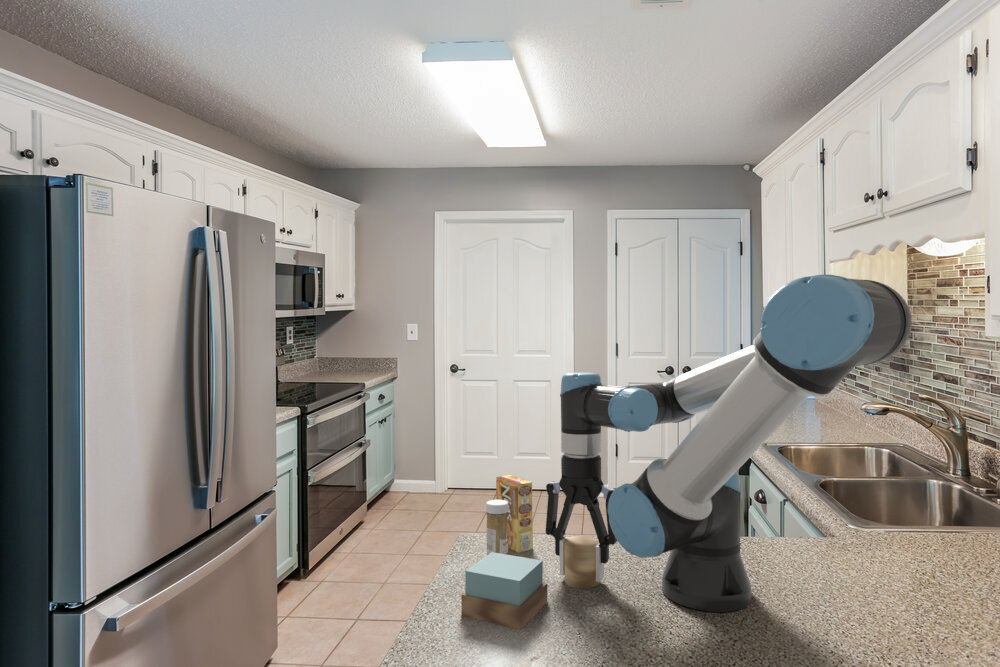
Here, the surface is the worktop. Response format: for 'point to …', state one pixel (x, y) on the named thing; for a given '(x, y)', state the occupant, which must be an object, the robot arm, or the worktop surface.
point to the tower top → (504, 578)
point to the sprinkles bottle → (497, 526)
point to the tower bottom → (505, 609)
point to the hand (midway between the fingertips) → (581, 575)
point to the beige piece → (580, 561)
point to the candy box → (517, 510)
